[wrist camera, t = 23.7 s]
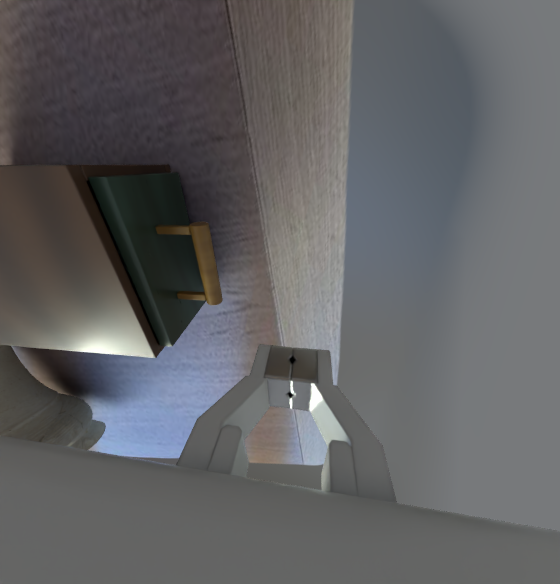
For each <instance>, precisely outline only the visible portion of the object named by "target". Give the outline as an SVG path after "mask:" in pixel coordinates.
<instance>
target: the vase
mask: <svg viewBox="0 0 560 584" xmlns="http://www.w3.org/2000/svg"><path fill="white" fill-rule="evenodd" d="M105 427H106V426H105V423H103V422H100V421H96V420H92V410H91V408H90V406H89V405H88V404H87V403H86V402H84V401H83V400H81V399H79V398H77V397H74V396H70V395H66V394H60V393H58V392H57V391H55V390H53V389H50V388H48V387H47V386H45V385H44V384H42V383H41V382H39V381H38V380H37V379H36V378H35V377H33V376H32V375H31V374H30V373H29V371H28V370H27V369H26V368H25V367H24V365H23V364H22V363H21V362H20V360H19V359H18V357H17V356H16V354H15V352H14V351H13V349H12V347H11V346H9V345H0V435H1V436H7V437H13V438H19V439H25V440H30V441H36V442H42V443H48V444H54V445H60V446H66V447H71V448H77V449H83V450H88V449H90V448H91V447H92V446H93V445H95V444H96V443H97V442H98V440H99V439H100V438H101V437H102V435H103V433H104V431H105Z"/></svg>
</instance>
